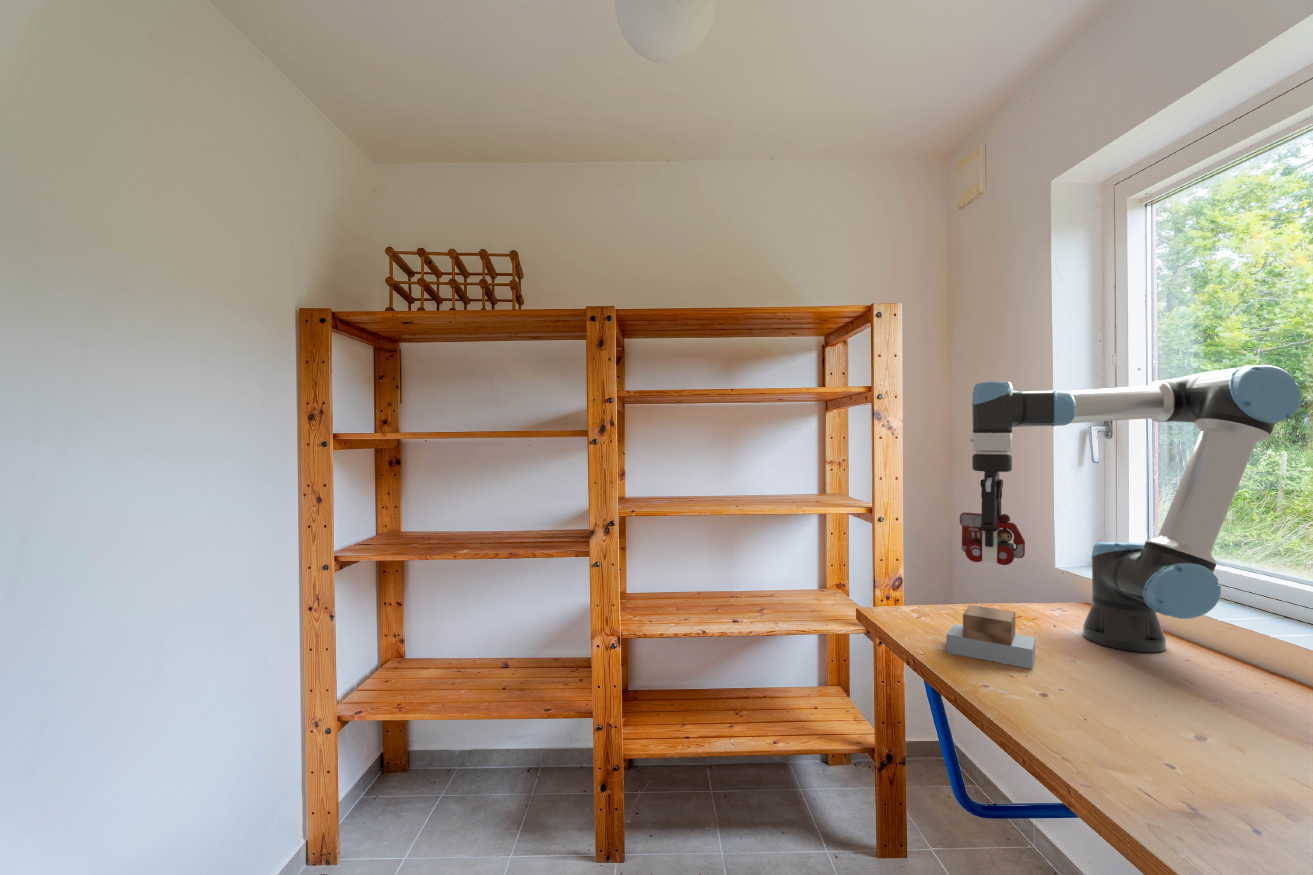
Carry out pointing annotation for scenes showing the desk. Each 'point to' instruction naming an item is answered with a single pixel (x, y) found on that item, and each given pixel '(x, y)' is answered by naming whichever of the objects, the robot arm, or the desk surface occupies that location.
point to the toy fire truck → (1004, 549)
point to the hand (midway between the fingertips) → (991, 558)
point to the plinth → (992, 648)
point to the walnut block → (989, 624)
